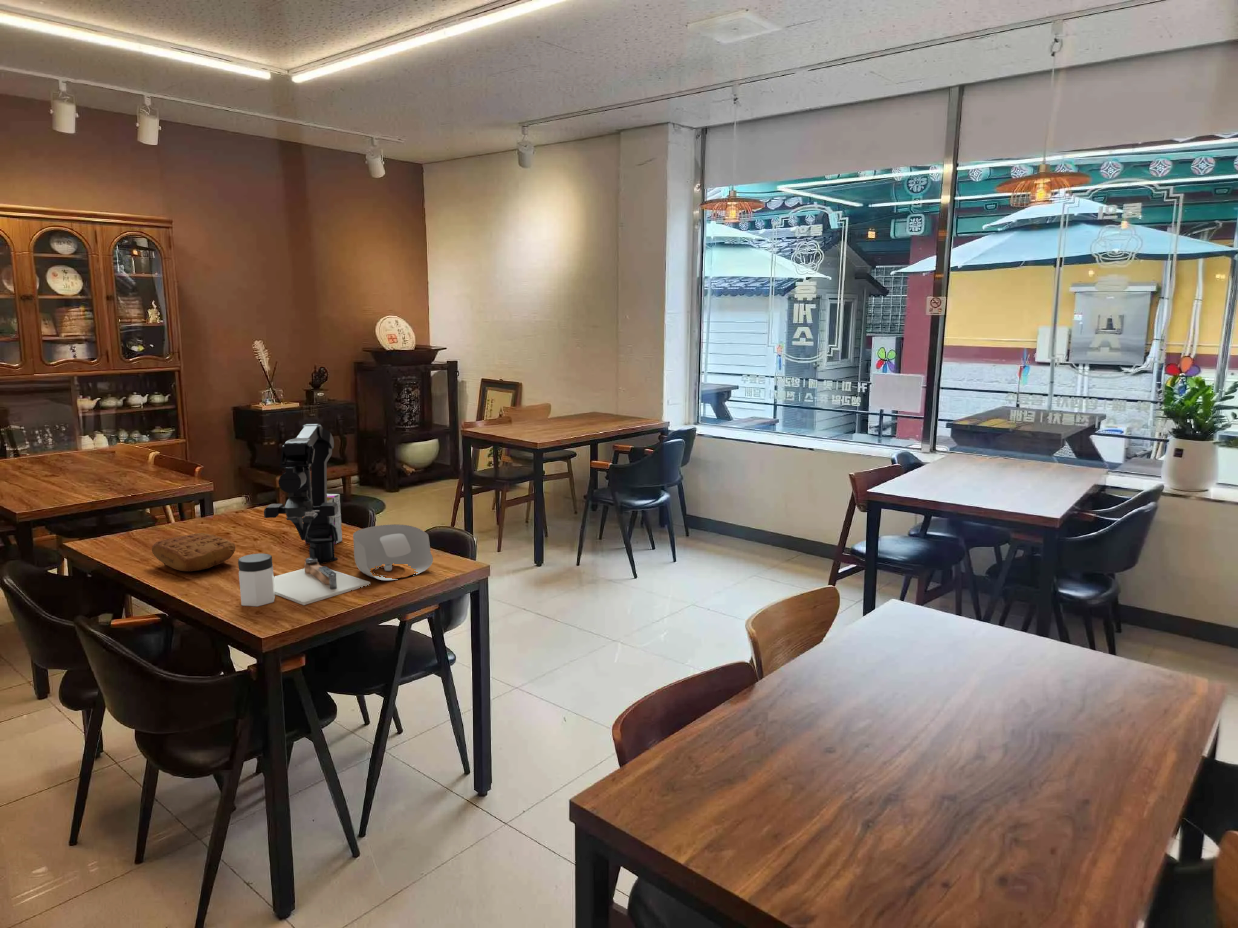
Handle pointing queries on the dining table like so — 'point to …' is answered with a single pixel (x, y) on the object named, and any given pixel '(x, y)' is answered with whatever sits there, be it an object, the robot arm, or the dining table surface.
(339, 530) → the candy bar box
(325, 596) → the hinge board
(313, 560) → the keeper
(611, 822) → the dining table surface
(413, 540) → the gray curved shell
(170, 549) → the inscribed clay slab
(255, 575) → the jar
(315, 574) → the link
